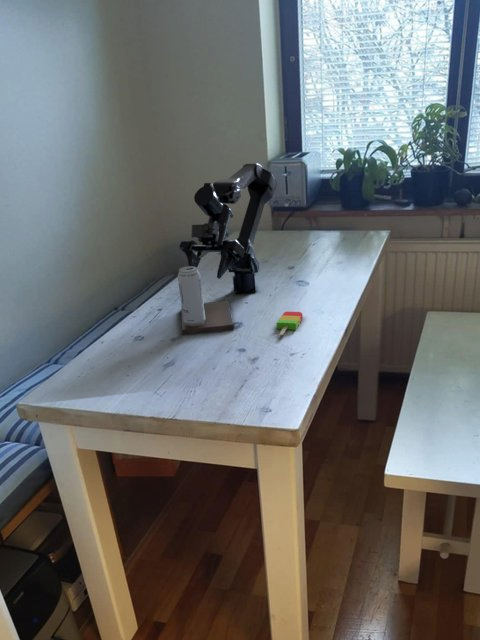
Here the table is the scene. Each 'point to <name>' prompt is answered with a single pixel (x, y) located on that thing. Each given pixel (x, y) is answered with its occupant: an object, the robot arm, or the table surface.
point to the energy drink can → (191, 296)
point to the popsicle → (289, 321)
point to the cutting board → (212, 319)
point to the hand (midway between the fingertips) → (204, 277)
